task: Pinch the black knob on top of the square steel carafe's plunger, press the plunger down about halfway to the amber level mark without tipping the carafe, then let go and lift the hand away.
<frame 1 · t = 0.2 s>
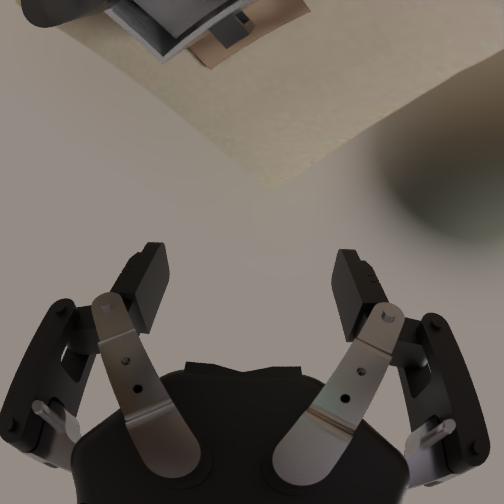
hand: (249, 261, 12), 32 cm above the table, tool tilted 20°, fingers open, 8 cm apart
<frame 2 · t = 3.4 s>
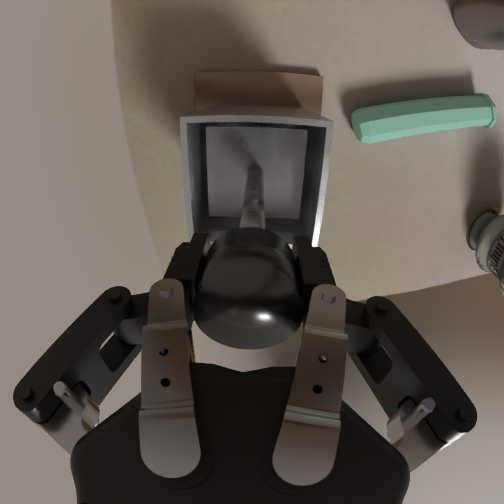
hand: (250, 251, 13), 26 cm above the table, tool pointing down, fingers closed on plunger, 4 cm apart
plunger: (253, 213, 17), point 22 cm above the table, slide at 0.0 cm, touching gripper
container: (420, 111, 30), on the table
apothecary jar: (481, 228, 40), on the table
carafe: (256, 145, 34), point 1 cm above the table, touching walnut board
walnut board: (257, 143, 35), on the table
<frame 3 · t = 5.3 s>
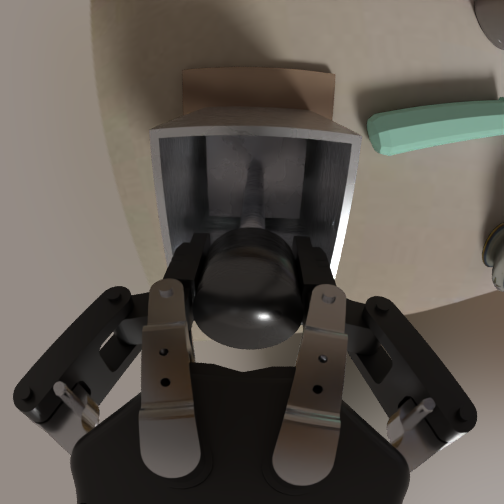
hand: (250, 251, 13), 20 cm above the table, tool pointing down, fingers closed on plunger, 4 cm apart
plunger: (253, 213, 17), point 16 cm above the table, slide at 6.0 cm, touching gripper
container: (442, 117, 25), on the table
apothecary jar: (498, 244, 35), on the table
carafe: (256, 155, 29), point 1 cm above the table, touching walnut board
walnut board: (256, 153, 30), on the table
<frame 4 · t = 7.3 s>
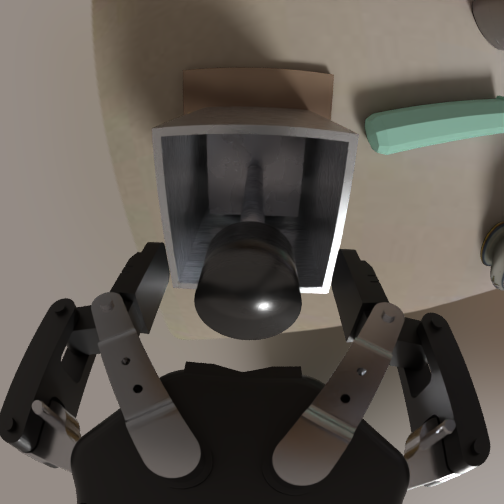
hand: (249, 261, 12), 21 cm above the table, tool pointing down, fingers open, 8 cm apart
plunger: (252, 209, 17), point 16 cm above the table, slide at 6.0 cm
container: (440, 116, 26), on the table
apothecary jar: (496, 243, 36), on the table
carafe: (255, 154, 29), point 1 cm above the table, touching walnut board
walnut board: (256, 152, 30), on the table
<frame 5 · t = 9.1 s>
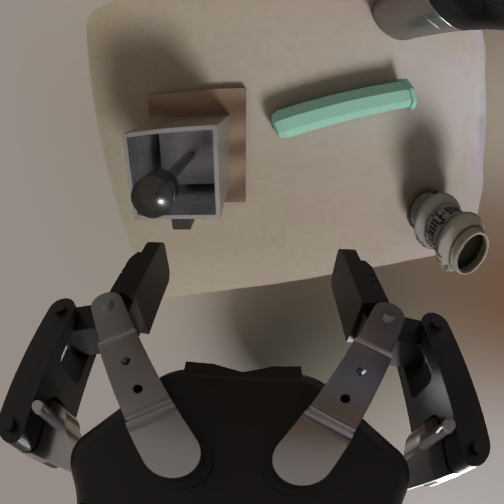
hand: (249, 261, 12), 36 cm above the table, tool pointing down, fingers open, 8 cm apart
plunger: (174, 172, 30), point 16 cm above the table, slide at 6.0 cm
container: (339, 104, 40), on the table
apothecary jar: (424, 208, 49), on the table
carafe: (197, 147, 43), point 1 cm above the table, touching walnut board
walnut board: (198, 146, 44), on the table
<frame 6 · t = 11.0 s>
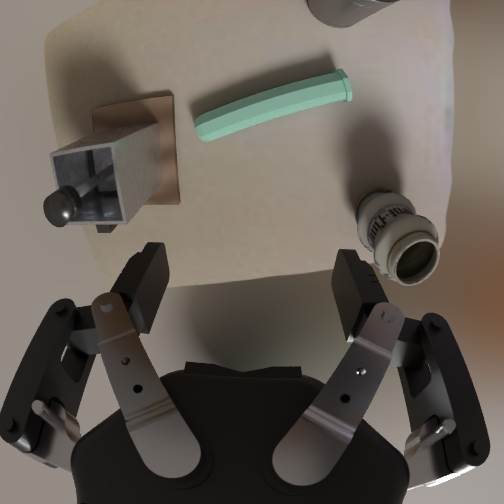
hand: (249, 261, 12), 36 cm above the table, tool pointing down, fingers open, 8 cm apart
plunger: (90, 183, 31), point 16 cm above the table, slide at 6.0 cm
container: (269, 102, 40), on the table
apothecary jar: (377, 210, 50), on the table
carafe: (132, 154, 43), point 1 cm above the table, touching walnut board
walnut board: (135, 153, 44), on the table
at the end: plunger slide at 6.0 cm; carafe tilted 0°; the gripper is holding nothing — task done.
